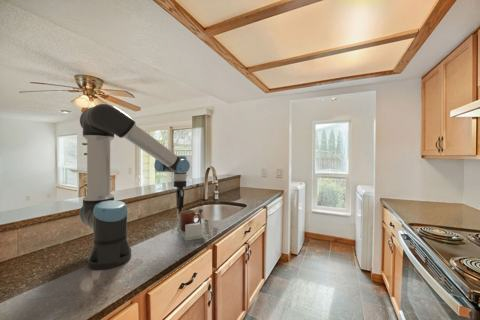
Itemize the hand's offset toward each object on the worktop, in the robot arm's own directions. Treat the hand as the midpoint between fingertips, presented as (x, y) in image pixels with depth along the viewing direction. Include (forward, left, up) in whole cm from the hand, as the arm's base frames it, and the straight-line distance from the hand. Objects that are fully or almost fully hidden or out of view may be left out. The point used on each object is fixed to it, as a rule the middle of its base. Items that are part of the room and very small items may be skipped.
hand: (179, 218), depth 125 cm
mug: (+3, -13, -4) cm, 14 cm away
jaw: (+3, 0, -3) cm, 4 cm away
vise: (+3, -13, -5) cm, 14 cm away
